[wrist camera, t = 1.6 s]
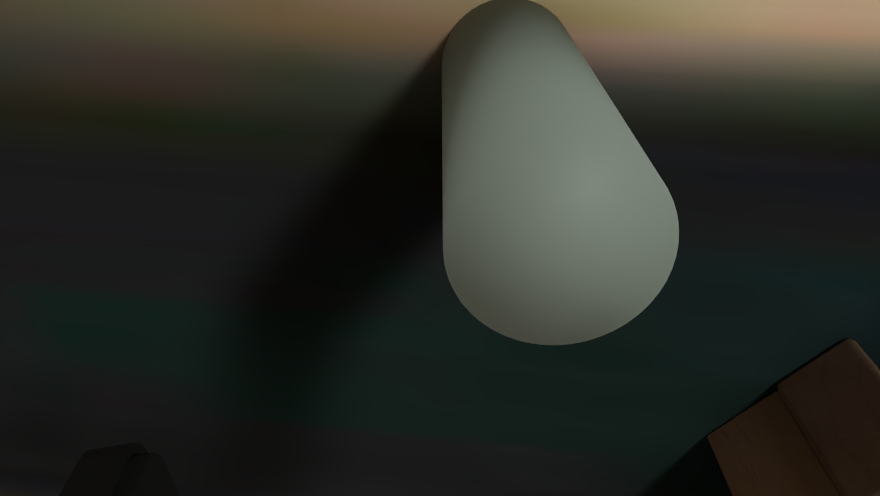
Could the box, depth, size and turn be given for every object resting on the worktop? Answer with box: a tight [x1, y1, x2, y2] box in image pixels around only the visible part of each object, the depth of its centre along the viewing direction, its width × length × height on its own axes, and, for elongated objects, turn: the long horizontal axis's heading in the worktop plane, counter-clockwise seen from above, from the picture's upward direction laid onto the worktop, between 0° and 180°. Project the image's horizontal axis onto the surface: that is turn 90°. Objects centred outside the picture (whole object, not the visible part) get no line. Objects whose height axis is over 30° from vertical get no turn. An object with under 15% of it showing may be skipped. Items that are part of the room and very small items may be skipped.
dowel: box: [442, 0, 679, 345], centre depth 19 cm, size 4×4×12 cm
